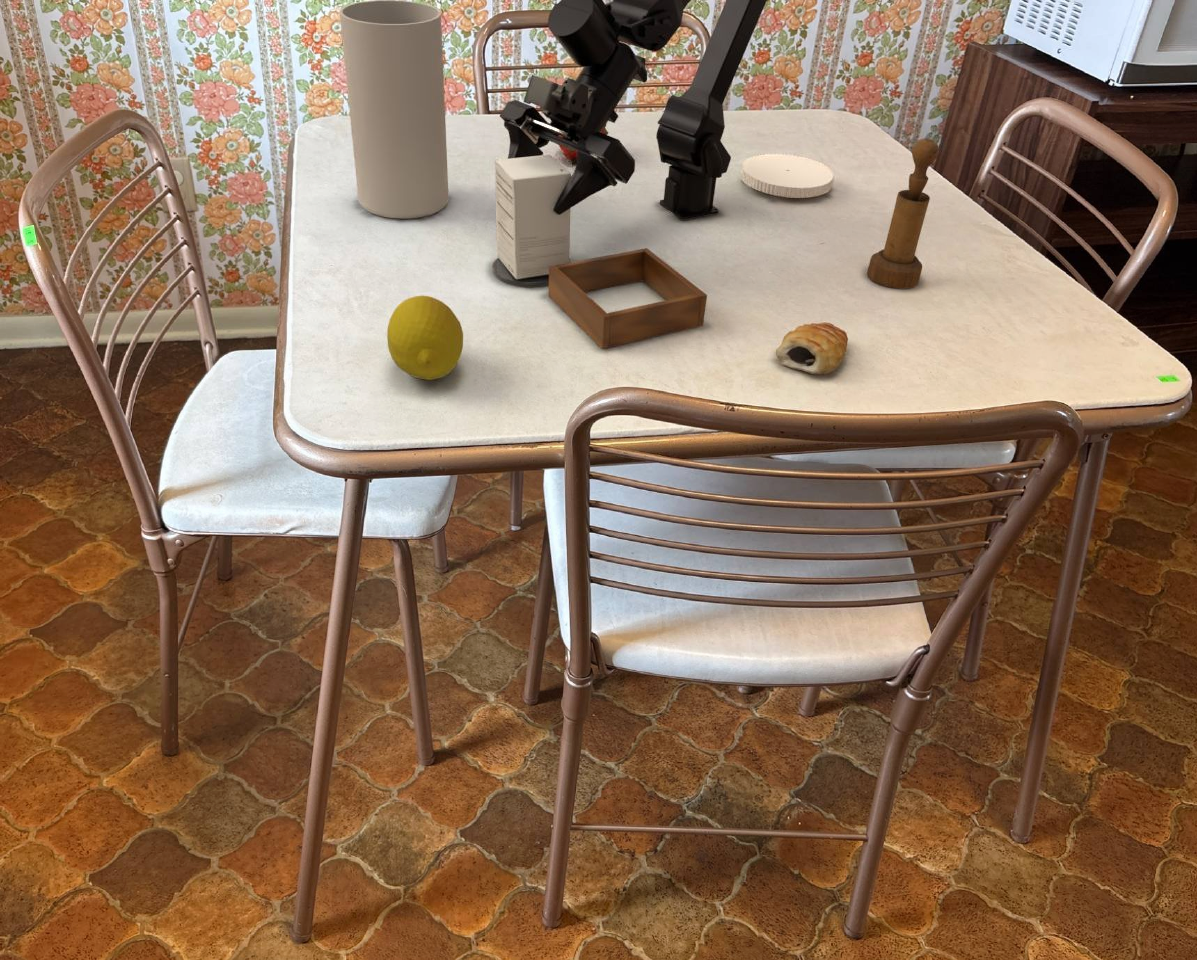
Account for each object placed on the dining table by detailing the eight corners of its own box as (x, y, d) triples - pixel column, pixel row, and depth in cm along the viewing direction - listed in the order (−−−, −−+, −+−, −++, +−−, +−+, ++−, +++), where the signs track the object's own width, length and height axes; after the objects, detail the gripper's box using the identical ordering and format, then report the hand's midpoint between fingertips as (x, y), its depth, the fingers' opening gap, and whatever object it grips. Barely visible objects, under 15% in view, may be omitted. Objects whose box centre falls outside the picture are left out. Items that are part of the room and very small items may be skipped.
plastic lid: (849, 194, 151) (853, 178, 150) (782, 211, 145) (785, 194, 143) (787, 164, 160) (790, 148, 159) (721, 178, 154) (723, 162, 152)
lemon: (463, 397, 101) (461, 328, 97) (386, 397, 101) (379, 328, 96) (465, 343, 110) (463, 277, 105) (394, 343, 109) (388, 277, 104)
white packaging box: (549, 250, 129) (551, 153, 121) (570, 273, 123) (573, 172, 116) (495, 257, 126) (493, 158, 119) (514, 280, 121) (513, 178, 113)
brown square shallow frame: (644, 277, 125) (646, 247, 123) (703, 325, 116) (707, 295, 114) (548, 296, 120) (548, 266, 117) (602, 349, 111) (604, 317, 108)
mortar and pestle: (920, 272, 131) (958, 136, 120) (916, 293, 126) (955, 153, 115) (870, 263, 132) (902, 127, 121) (863, 283, 127) (897, 143, 116)
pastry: (806, 331, 116) (813, 302, 114) (859, 350, 114) (867, 321, 111) (770, 362, 110) (776, 332, 108) (825, 384, 107) (832, 353, 105)
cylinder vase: (341, 209, 137) (319, 15, 121) (389, 179, 146) (374, -5, 131) (420, 227, 133) (408, 30, 118) (464, 196, 143) (458, 9, 127)
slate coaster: (544, 250, 130) (544, 246, 129) (576, 279, 124) (576, 275, 123) (481, 262, 126) (481, 257, 126) (510, 292, 120) (510, 288, 120)
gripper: (510, 29, 117) (441, 142, 117) (625, 67, 107) (549, 190, 108) (557, 86, 126) (493, 190, 127) (666, 125, 117) (596, 238, 117)
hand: (529, 200), depth 119 cm, fingers open, 9 cm apart
